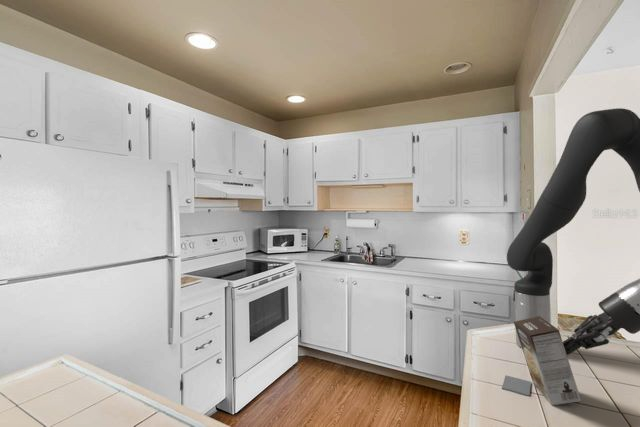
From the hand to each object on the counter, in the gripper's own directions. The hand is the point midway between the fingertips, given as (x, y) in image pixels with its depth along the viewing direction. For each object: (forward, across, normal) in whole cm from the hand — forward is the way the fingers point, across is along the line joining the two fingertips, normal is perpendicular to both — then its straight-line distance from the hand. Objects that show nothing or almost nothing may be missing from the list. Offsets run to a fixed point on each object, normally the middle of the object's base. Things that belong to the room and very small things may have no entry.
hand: (562, 350), depth 70 cm
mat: (+14, +1, +1) cm, 14 cm away
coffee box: (+8, 0, +6) cm, 10 cm away
